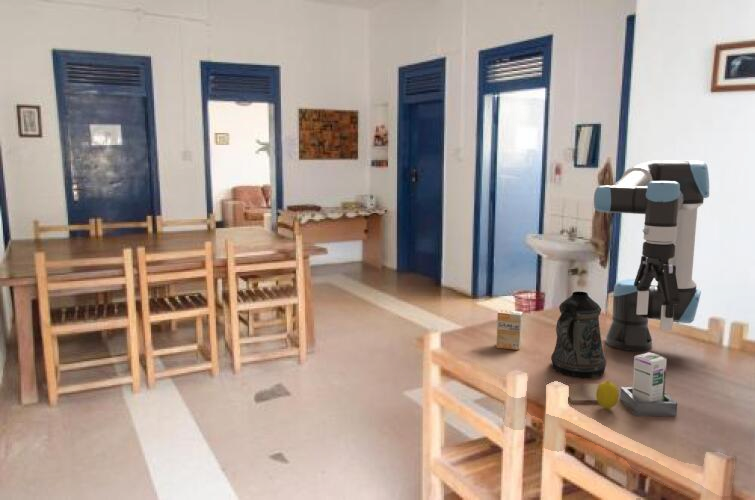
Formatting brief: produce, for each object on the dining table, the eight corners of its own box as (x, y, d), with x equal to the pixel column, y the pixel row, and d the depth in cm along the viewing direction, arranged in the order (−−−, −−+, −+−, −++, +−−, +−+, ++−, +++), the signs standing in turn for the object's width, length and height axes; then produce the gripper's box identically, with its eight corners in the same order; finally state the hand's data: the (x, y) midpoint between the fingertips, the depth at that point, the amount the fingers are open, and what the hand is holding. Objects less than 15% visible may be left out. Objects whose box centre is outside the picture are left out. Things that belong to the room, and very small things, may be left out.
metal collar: (657, 398, 159) (658, 386, 158) (676, 415, 148) (677, 403, 148) (620, 398, 159) (620, 387, 158) (636, 416, 149) (637, 403, 148)
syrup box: (649, 414, 150) (653, 361, 147) (630, 405, 155) (634, 354, 152) (664, 409, 152) (668, 357, 150) (644, 400, 157) (648, 351, 155)
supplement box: (495, 348, 201) (496, 312, 198) (498, 343, 205) (499, 308, 203) (519, 350, 197) (520, 314, 195) (521, 346, 202) (522, 310, 200)
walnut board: (597, 386, 167) (597, 383, 167) (612, 403, 156) (612, 399, 156) (559, 387, 167) (559, 384, 167) (571, 403, 156) (572, 400, 156)
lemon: (591, 405, 155) (593, 377, 154) (611, 404, 156) (613, 376, 154) (601, 414, 150) (603, 385, 149) (621, 413, 150) (623, 384, 149)
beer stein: (604, 362, 186) (608, 288, 181) (607, 385, 168) (612, 304, 163) (551, 357, 191) (554, 285, 187) (549, 379, 173) (552, 300, 169)
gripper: (624, 234, 158) (619, 308, 162) (668, 250, 133) (661, 336, 137) (651, 234, 158) (646, 308, 161) (700, 249, 133) (693, 336, 137)
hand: (653, 321), depth 149 cm, fingers open, 13 cm apart
